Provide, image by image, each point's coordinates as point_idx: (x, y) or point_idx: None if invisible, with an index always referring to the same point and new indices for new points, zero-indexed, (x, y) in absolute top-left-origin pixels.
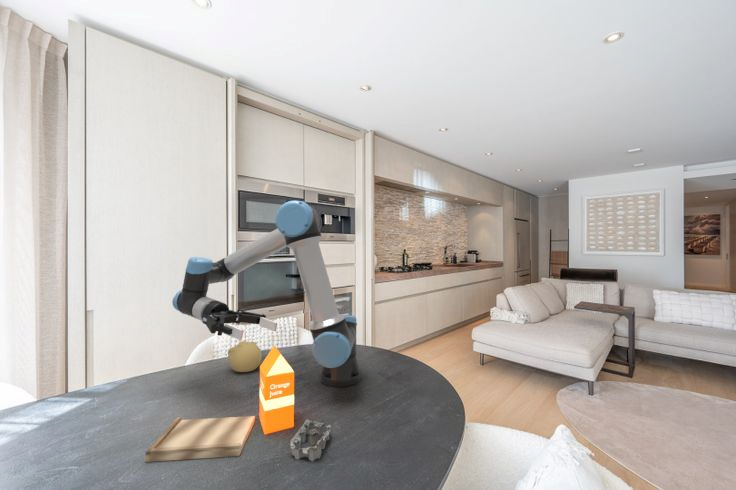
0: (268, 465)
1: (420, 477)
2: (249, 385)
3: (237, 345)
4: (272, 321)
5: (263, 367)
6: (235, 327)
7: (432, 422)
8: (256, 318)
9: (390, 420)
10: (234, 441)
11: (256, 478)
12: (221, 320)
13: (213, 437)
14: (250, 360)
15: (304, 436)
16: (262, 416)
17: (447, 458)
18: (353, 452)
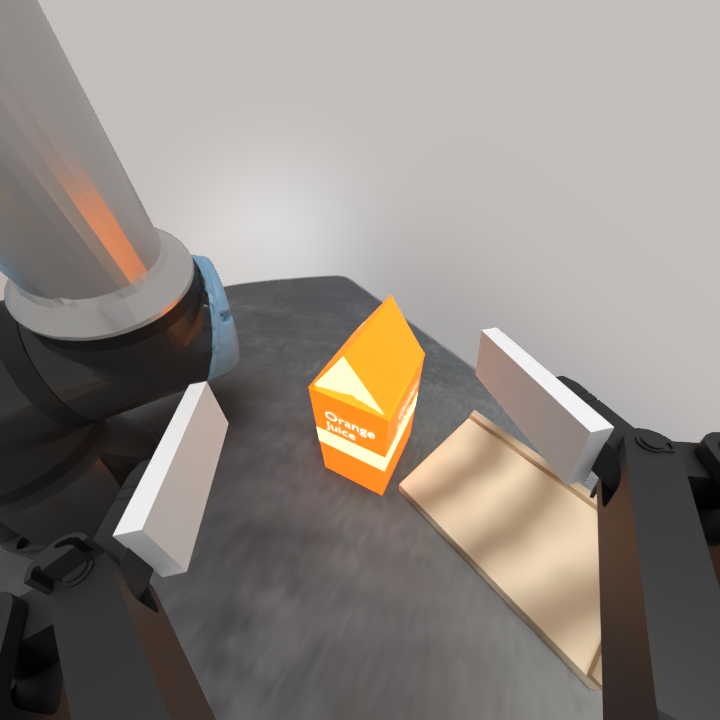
0: (444, 376)
1: (346, 283)
2: None
3: None
4: (188, 407)
5: (397, 388)
6: (526, 359)
7: (248, 299)
8: (135, 606)
9: (265, 327)
10: (473, 437)
11: (467, 371)
12: (683, 556)
13: (506, 482)
14: None
15: None
16: (401, 444)
17: (308, 278)
18: (353, 327)
